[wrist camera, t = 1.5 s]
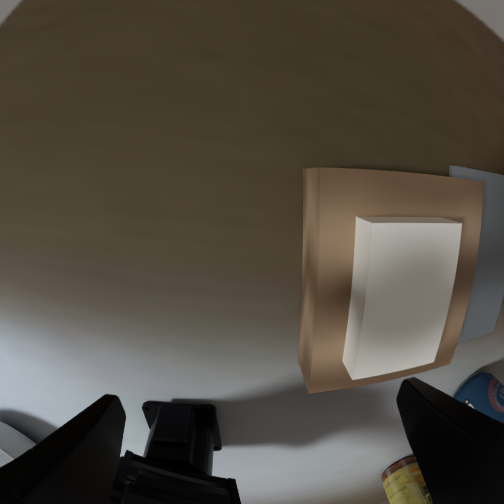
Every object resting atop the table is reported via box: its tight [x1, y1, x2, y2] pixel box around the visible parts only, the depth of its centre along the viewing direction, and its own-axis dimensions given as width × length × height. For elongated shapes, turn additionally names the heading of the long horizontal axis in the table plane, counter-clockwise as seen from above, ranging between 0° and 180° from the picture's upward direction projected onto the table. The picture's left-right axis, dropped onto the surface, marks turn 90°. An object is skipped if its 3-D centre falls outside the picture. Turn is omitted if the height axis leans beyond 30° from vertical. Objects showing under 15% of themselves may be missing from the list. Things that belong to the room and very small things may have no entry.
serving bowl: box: [0, 421, 36, 467], centre depth 22 cm, size 21×21×7 cm
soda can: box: [452, 372, 504, 423], centre depth 19 cm, size 7×7×12 cm
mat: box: [449, 165, 504, 344], centre depth 20 cm, size 16×10×1 cm, turn 2°
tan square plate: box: [298, 167, 484, 394], centre depth 18 cm, size 14×12×4 cm
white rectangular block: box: [342, 217, 462, 380], centre depth 15 cm, size 9×6×2 cm, turn 1°
